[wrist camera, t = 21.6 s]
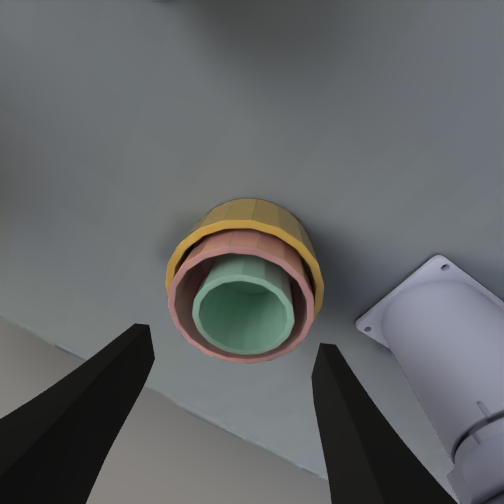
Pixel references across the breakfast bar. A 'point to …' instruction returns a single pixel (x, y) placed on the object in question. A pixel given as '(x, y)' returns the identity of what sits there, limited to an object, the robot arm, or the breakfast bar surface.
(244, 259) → the mint cup
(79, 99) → the breakfast bar surface
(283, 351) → the stack top
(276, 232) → the stack bottom
